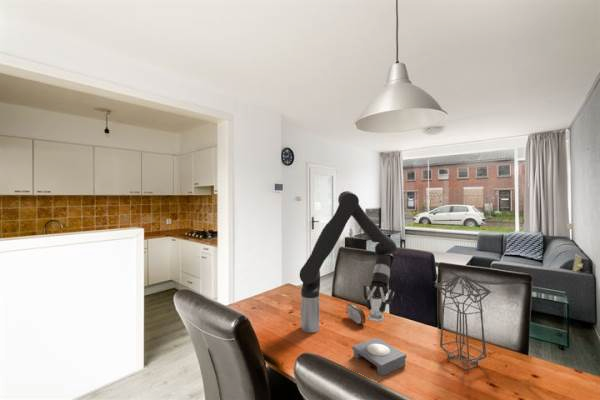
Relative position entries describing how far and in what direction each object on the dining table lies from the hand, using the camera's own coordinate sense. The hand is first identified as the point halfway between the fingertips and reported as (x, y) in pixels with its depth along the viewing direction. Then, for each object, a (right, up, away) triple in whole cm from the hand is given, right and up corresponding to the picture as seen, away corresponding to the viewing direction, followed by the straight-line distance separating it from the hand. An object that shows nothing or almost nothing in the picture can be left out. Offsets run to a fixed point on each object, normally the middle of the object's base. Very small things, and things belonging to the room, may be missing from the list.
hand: (375, 310), depth 117 cm
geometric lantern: (+34, -18, -7) cm, 39 cm away
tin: (-2, -19, +31) cm, 36 cm away
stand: (0, -18, -6) cm, 19 cm away
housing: (+1, -4, +2) cm, 5 cm away
